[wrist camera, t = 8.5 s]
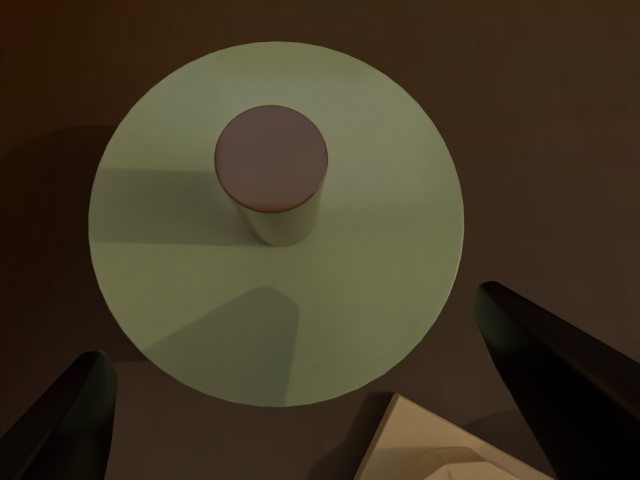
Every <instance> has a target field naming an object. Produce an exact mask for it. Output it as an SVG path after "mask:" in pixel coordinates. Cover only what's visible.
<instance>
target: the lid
mask: <svg viewBox="0 0 640 480" xmlns="http://www.w3.org/2000/svg"><path fill="white" fill-rule="evenodd" d="M463 236H464V209H463V201H462V195H461V188H460V183H459V180H458V176H457V173H456V170H455V166H454V163H453V160H452V158H451V156H450V153H449V151H448V149H447V147H446V144H445V142H444V140H443V139H442V137H441V135H440V134H439V132H438V130H437V129H436V127H435V125H434V124H433V122H432V121H431V119H430V118H429V117H428V116H427V114H426V113H425V112H424V110H423V109H422V108H421V107H420V105H419V104H418V103H417V102H416V101H415V100H414V99H413V98H412V97H411V96H410V95H409V94H408V93H407V92H406V91H405V90H404V89H403V88H402V87H400V86H399V85H398V84H396V83H395V82H394V81H392V80H391V79H390V78H389V77H387V76H386V75H385V74H383V73H381V72H380V71H378V70H376V69H375V68H373V67H371V66H370V65H368V64H366V63H364V62H362V61H360V60H358V59H355V58H353V57H351V56H349V55H346V54H344V53H341V52H337V51H334V50H331V49H328V48H324V47H320V46H315V45H309V44H304V43H294V42H260V43H251V44H245V45H240V46H234V47H230V48H227V49H223V50H220V51H217V52H213V53H210V54H208V55H206V56H203V57H201V58H199V59H197V60H194V61H192V62H190V63H188V64H186V65H184V66H183V67H181V68H179V69H178V70H176V71H174V72H173V73H171V74H169V75H168V76H167V77H165V78H164V79H163V80H162V81H160V82H159V83H158V84H156V85H155V86H154V87H152V88H151V89H150V90H149V91H148V92H147V93H146V94H145V95H144V96H143V97H142V98H141V99H140V100H139V101H138V102H137V103H136V104H135V105H134V106H133V107H132V109H131V110H130V111H129V113H128V114H127V115H126V116H125V118H124V119H123V120H122V122H121V123H120V124H119V126H118V128H117V129H116V131H115V133H114V134H113V136H112V138H111V139H110V141H109V143H108V144H107V147H106V149H105V152H104V154H103V156H102V159H101V161H100V163H99V166H98V169H97V172H96V176H95V180H94V183H93V187H92V192H91V199H90V207H89V244H90V251H91V258H92V264H93V267H94V271H95V274H96V278H97V281H98V284H99V288H100V290H101V292H102V294H103V297H104V299H105V301H106V303H107V305H108V308H109V310H110V312H111V313H112V315H113V316H114V318H115V319H116V321H117V323H118V324H119V326H120V327H121V329H122V330H123V332H124V333H125V334H126V336H127V337H128V338H129V339H130V340H131V341H132V343H133V344H134V345H135V346H136V347H137V348H138V350H139V351H140V352H141V353H142V354H144V355H145V356H146V357H147V358H148V359H149V360H150V361H152V362H153V363H154V364H155V365H156V366H157V367H158V368H159V369H161V370H162V371H164V372H165V373H167V374H168V375H170V376H172V377H173V378H175V379H176V380H178V381H179V382H181V383H182V384H184V385H187V386H189V387H191V388H193V389H195V390H197V391H199V392H201V393H204V394H206V395H209V396H212V397H215V398H219V399H222V400H225V401H228V402H232V403H238V404H244V405H250V406H256V407H291V406H300V405H309V404H314V403H317V402H321V401H325V400H329V399H333V398H337V397H339V396H341V395H344V394H346V393H349V392H351V391H354V390H356V389H359V388H361V387H363V386H364V385H366V384H368V383H369V382H371V381H373V380H375V379H376V378H378V377H380V376H382V375H383V374H384V373H386V372H387V371H388V370H390V369H391V368H392V367H393V366H395V365H396V364H397V363H399V362H400V361H401V360H402V359H404V358H405V356H406V355H407V354H408V353H409V352H410V351H411V350H412V349H413V348H414V347H415V346H416V345H417V344H418V343H419V342H420V341H421V340H422V339H423V337H424V336H425V334H426V333H427V332H428V330H429V329H430V328H431V326H432V325H433V324H434V322H435V321H436V319H437V317H438V316H439V314H440V312H441V310H442V308H443V307H444V305H445V303H446V301H447V299H448V297H449V294H450V291H451V289H452V286H453V284H454V281H455V279H456V275H457V271H458V267H459V263H460V259H461V255H462V246H463Z"/></svg>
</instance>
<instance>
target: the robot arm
mask: <svg viewBox="0 0 640 480" xmlns="http://www.w3.org/2000/svg"><path fill="white" fill-rule="evenodd" d="M473 314H474V317H475V319H476V322H477V324H478V327H479V329H480V331H481V334H482V336H483V338H484V341H485V343H486V346H487V348H488V350H489V353H490V355H491V358H492V360H493V362H494V364H495V367H496V369H497V371H498V373H499V375H500V377H501V379H502V380H503V382H504V384H505V386H506V388H507V389H508V391H509V393H510V395H511V397H512V398H513V400H514V402H515V404H516V406H517V407H518V409H519V411H520V413H521V415H522V416H523V418H524V420H525V422H526V424H527V425H528V427H529V429H530V431H531V433H532V434H533V436H534V438H535V440H536V442H537V443H538V445H539V447H540V449H541V451H542V452H543V454H544V456H545V458H546V459H547V461H548V463H549V465H550V467H551V468H552V470H553V472H554V474H555V476H556V477H557V479H558V480H640V363H638V362H636V361H634V360H633V359H631V358H629V357H627V356H626V355H624V354H622V353H620V352H619V351H617V350H615V349H613V348H612V347H610V346H608V345H606V344H605V343H603V342H601V341H599V340H598V339H596V338H594V337H592V336H591V335H589V334H587V333H585V332H584V331H582V330H580V329H578V328H577V327H575V326H573V325H571V324H570V323H568V322H566V321H564V320H563V319H561V318H559V317H557V316H556V315H554V314H552V313H550V312H549V311H547V310H545V309H543V308H542V307H540V306H538V305H536V304H535V303H533V302H531V301H529V300H528V299H526V298H524V297H522V296H521V295H519V294H517V293H515V292H514V291H512V290H510V289H508V288H507V287H505V286H503V285H501V284H500V283H498V282H496V281H489V282H483V283H479V284H478V285H477V287H476V292H475V297H474V302H473ZM116 390H117V374H116V371H115V369H114V367H113V366H112V364H111V362H110V361H109V359H108V358H107V356H106V354H105V353H104V352H103V351H101V350H97V351H91V352H85V353H83V354H81V355H80V356H79V357H78V358H77V359H76V360H75V361H74V362H73V363H72V364H71V365H70V366H69V367H68V368H67V370H66V371H65V372H64V373H63V374H62V375H61V376H60V377H59V378H58V379H57V380H56V381H55V382H54V383H53V384H52V385H51V386H50V387H49V389H48V390H47V391H46V392H45V393H44V394H43V395H42V396H41V397H40V398H39V399H38V400H37V401H36V402H35V403H34V404H33V405H32V406H31V407H30V409H29V410H28V411H27V412H26V413H25V414H24V415H23V416H22V417H21V418H20V419H19V420H18V421H17V422H16V423H15V424H14V425H13V426H12V428H11V429H10V430H9V431H8V432H7V433H6V434H5V435H4V436H3V437H2V438H1V439H0V480H104V477H105V472H106V467H107V463H108V458H109V453H110V447H111V440H112V432H113V421H114V411H115V401H116Z"/></svg>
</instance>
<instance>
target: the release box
mask: <svg viewBox="0 0 640 480" xmlns="http://www.w3.org/2000/svg"><path fill="white" fill-rule="evenodd" d="M353 480H555V479H553V478H551V477H549V476H547V475H546V474H544V473H542V472H540V471H538V470H536V469H535V468H533V467H531V466H529V465H527V464H525V463H524V462H522V461H520V460H518V459H516V458H515V457H513V456H511V455H509V454H507V453H505V452H504V451H502V450H500V449H498V448H496V447H494V446H493V445H491V444H489V443H487V442H485V441H483V440H482V439H480V438H478V437H476V436H474V435H472V434H471V433H469V432H467V431H465V430H463V429H461V428H460V427H458V426H456V425H454V424H452V423H451V422H449V421H447V420H445V419H443V418H441V417H440V416H438V415H436V414H434V413H432V412H430V411H429V410H427V409H425V408H423V407H421V406H419V405H418V404H416V403H414V402H412V401H410V400H408V399H407V398H405V397H403V396H401V395H399V394H398V393H394V394H393V397H392V399H391V401H390V403H389V405H388V407H387V409H386V411H385V413H384V416H383V418H382V420H381V422H380V424H379V426H378V428H377V430H376V432H375V435H374V437H373V439H372V441H371V443H370V445H369V447H368V449H367V451H366V454H365V456H364V458H363V460H362V462H361V464H360V466H359V468H358V470H357V473H356V475H355V477H354V479H353Z"/></svg>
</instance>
